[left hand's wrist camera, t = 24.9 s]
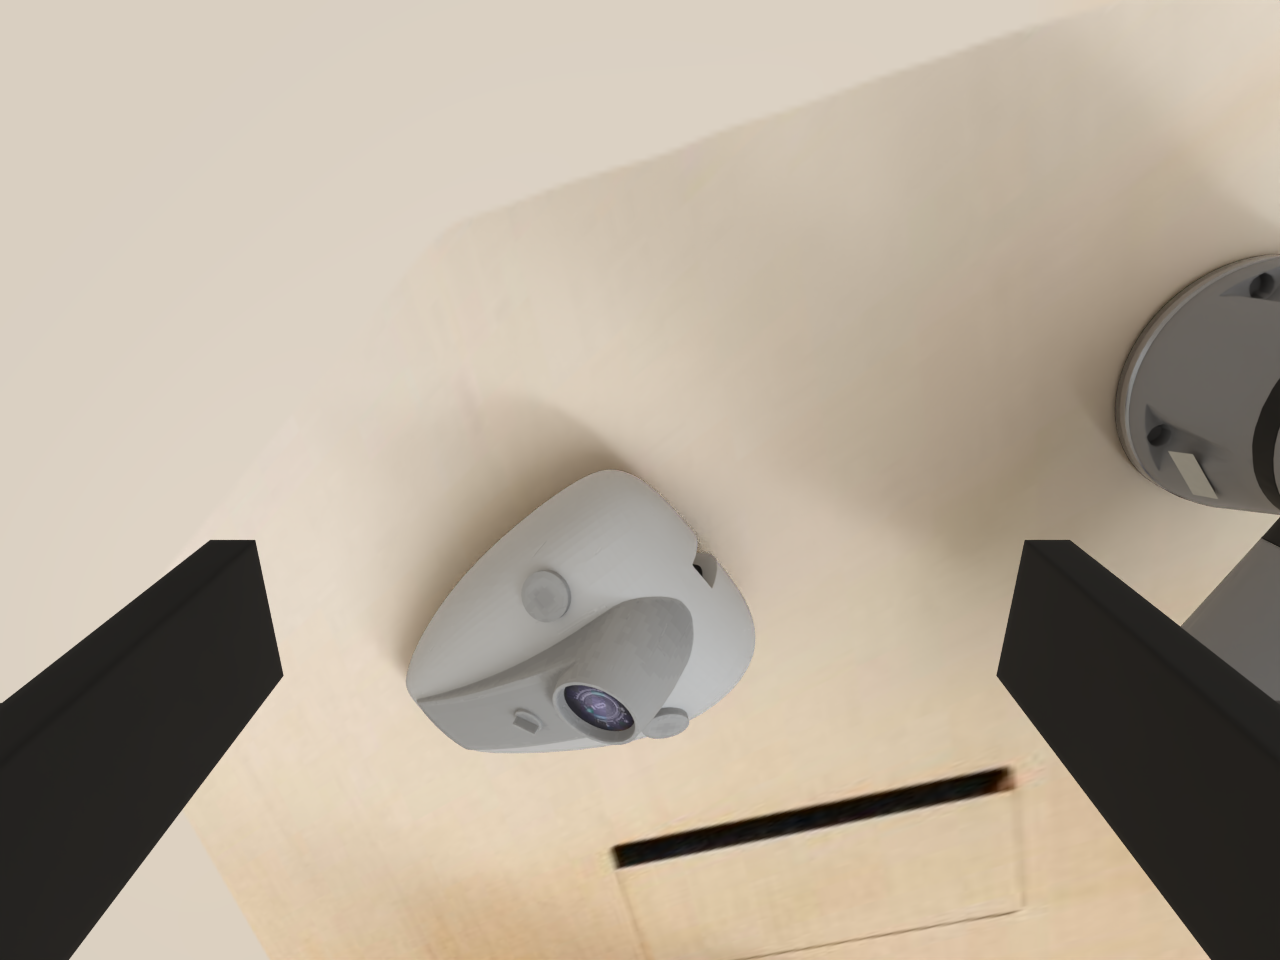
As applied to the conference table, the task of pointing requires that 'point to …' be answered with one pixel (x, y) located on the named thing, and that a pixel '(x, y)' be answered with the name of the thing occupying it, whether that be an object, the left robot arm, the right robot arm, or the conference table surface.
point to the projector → (584, 628)
